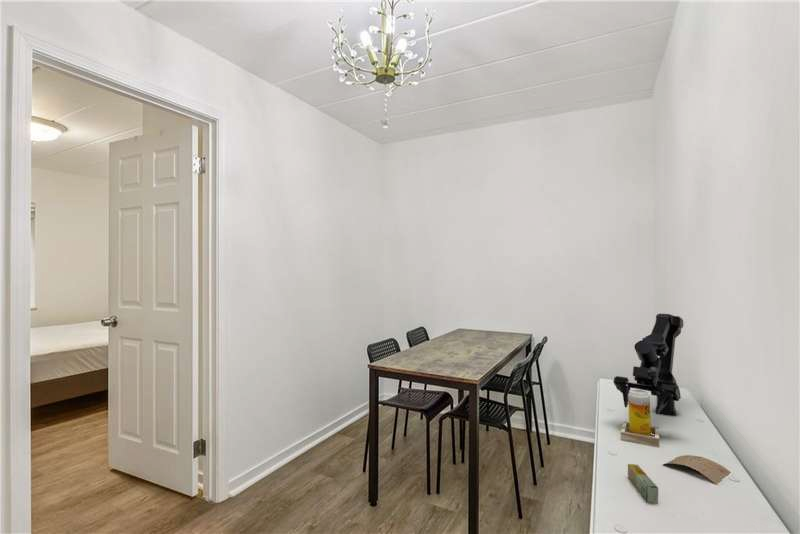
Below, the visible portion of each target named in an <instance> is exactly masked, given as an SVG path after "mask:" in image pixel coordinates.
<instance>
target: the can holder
mask: <svg viewBox="0 0 800 534" xmlns="http://www.w3.org/2000/svg"><path fill="white" fill-rule="evenodd" d="M628 431H629V421H628V422H625V421H623V423H622V426H621V430H620V441H623V442H624V441H625V442H629V443H634V444H640V445H645V444H646V446H650V445H654V446H653V447H656V446H659V447H660V427H658V426H652V425H651V433H652V434H655V435H654V436H652V435H651V436H645V435H639V434H634V433H630V431H629V432H628Z"/></svg>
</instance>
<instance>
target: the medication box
mask: <svg viewBox="0 0 800 534" xmlns="http://www.w3.org/2000/svg"><path fill="white" fill-rule="evenodd" d="M627 479H628V480H629V482H630V483H631V484H632V486H633V487H634V488H635V489H636V491H637V492H638V493H639V495H640V496H641V497H642V499H643V500H644V501H645V502H646V503H647V504H655V505H656V504H659V487H658V486H657V485H656V484H655V482H654V481H653V480H652V479H651V478H650V477H649V476H648V475H647V473H646V472H645V471H644V470H643V468H641V467H640V466H639V465H638V464H632V463H627Z"/></svg>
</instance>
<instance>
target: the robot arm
mask: <svg viewBox="0 0 800 534" xmlns="http://www.w3.org/2000/svg"><path fill="white" fill-rule="evenodd" d="M683 328H684V319H683V318H682V317H681V316H679V315H673V314H671V313H657V314H656V316H655V323H654V326H653V328H652V331H651V333H650V334H649V335H646V336H645V337H643V338H642V340H638V341H637V342H636V343H635V344H634V346H633V347H634V350H635V353H636V355H637V357H638V360H639V361H640V362H641V363H640V366H633V369H632V376H633V378H634V379H633V380H634V381H636V382H632V381H629V378H628V377H625V376H620V375H616V376H615V377H614V378H613V381H612V382H613V385H614V386H615V388H616V390H617V391H619V392H620V393H621V394H622V397H623V398H622V399H623V405H624V407H625V408H627V407H628V406H629V405H628V394H629V391H630V390H631V389H634V390H642V391H645V392H650V394H651V396H656V406H655V415H658V414H661V415H669V416H677V409H676V408H675V405H676V404H675V402H679V401H680V399H681V398H682V397H681V392H680V387H679V384H678V383H677V379H676V377H675V376H674V374H673V367H674V366H673V365H674V355H675V347H676V345H675V344H676V338H677V337H678V336H680V335H681V333H682V329H683Z"/></svg>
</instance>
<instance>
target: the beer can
mask: <svg viewBox="0 0 800 534" xmlns="http://www.w3.org/2000/svg"><path fill="white" fill-rule="evenodd" d="M650 398H651V397H650V395H649V392H648V391H646V390H641V389H630V391H629V394H628V405H627V406H628V423H629V433H634V434H639V435H645V436H651V437H652V435H651V426H652V425H651V424H652V423H651V402H650Z"/></svg>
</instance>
